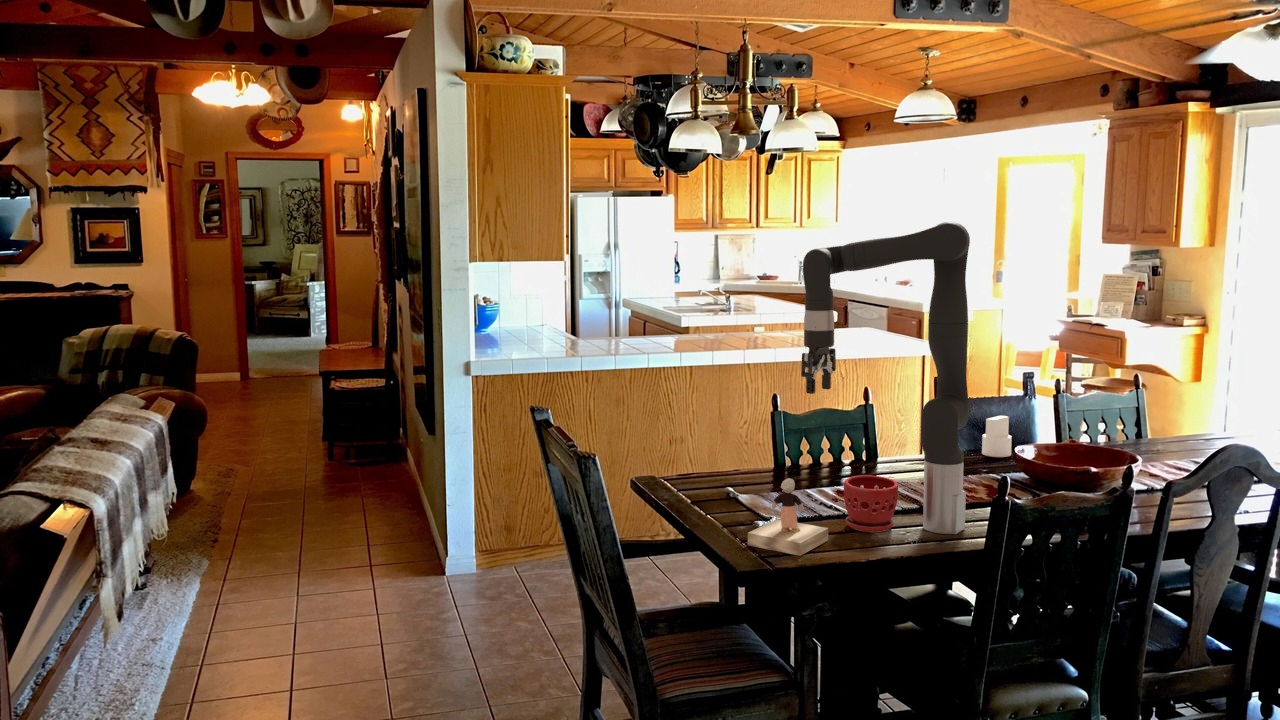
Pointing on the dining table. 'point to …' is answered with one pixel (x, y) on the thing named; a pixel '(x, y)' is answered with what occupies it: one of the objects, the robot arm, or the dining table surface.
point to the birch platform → (788, 538)
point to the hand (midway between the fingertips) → (818, 391)
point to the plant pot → (870, 502)
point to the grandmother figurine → (788, 506)
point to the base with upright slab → (997, 437)
